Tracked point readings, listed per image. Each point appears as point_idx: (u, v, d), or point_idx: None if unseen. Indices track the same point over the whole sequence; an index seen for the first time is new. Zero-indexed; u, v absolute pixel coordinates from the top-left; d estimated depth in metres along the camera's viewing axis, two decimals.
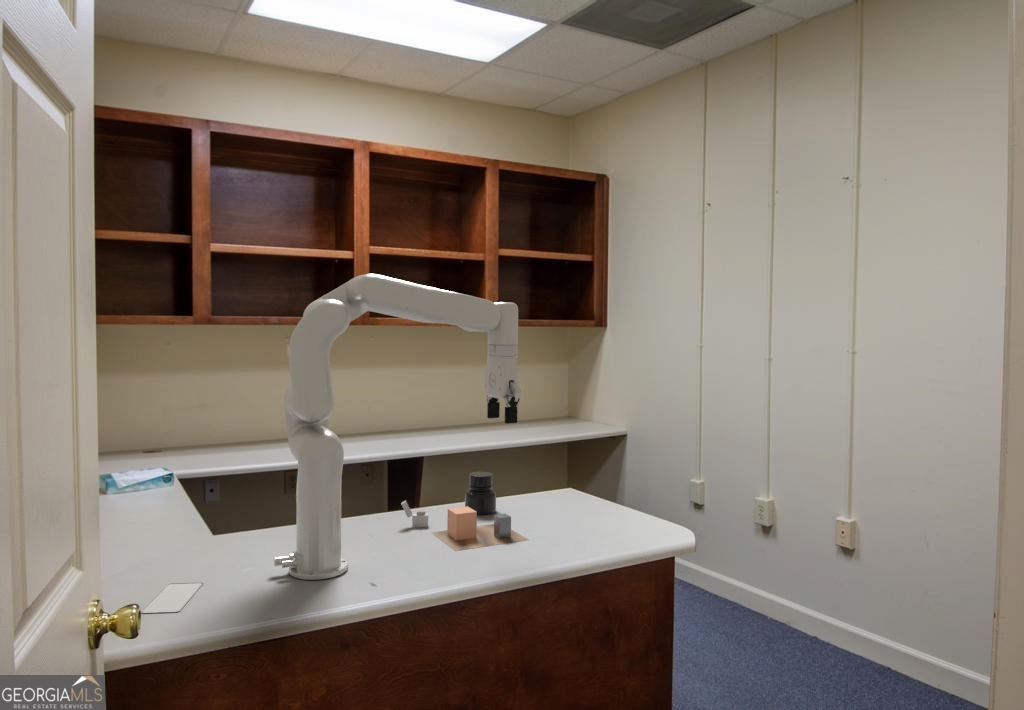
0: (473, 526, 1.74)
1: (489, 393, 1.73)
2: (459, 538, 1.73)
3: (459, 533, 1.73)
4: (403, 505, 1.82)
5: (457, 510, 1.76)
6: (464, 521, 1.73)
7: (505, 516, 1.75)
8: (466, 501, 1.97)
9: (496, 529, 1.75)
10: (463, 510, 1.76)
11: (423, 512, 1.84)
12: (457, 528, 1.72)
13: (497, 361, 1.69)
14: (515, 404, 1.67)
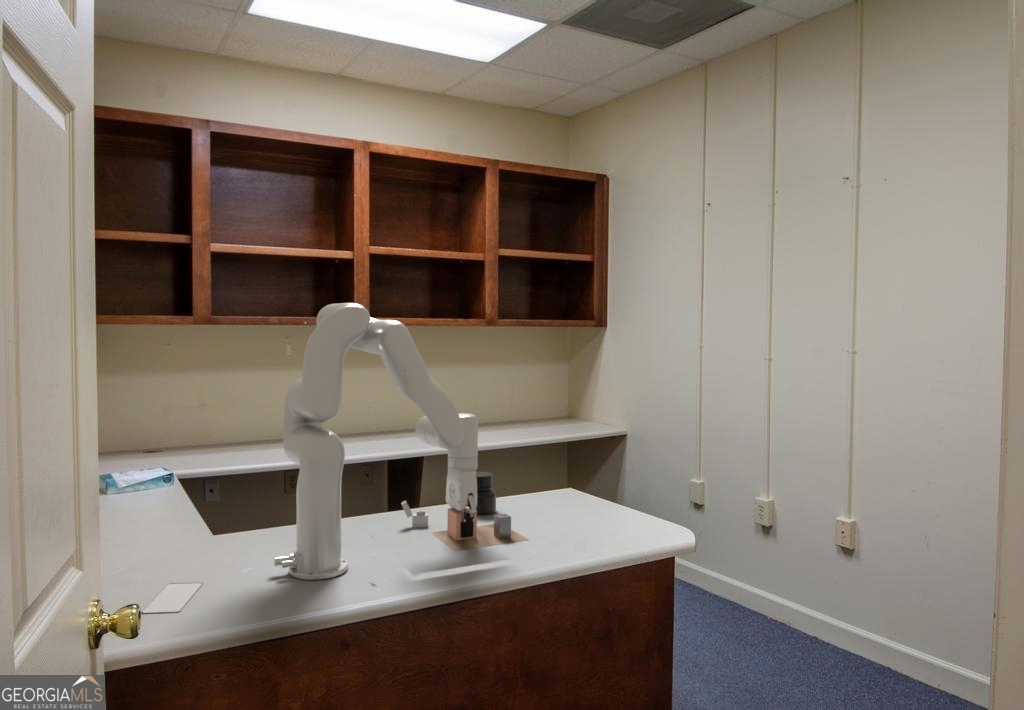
0: (473, 526, 1.74)
1: (449, 503, 1.76)
2: (459, 538, 1.73)
3: (459, 533, 1.73)
4: (403, 505, 1.82)
5: (457, 510, 1.76)
6: None
7: (505, 516, 1.75)
8: None
9: (496, 529, 1.75)
10: None
11: (423, 512, 1.84)
12: (457, 528, 1.72)
13: (456, 473, 1.72)
14: (471, 519, 1.72)
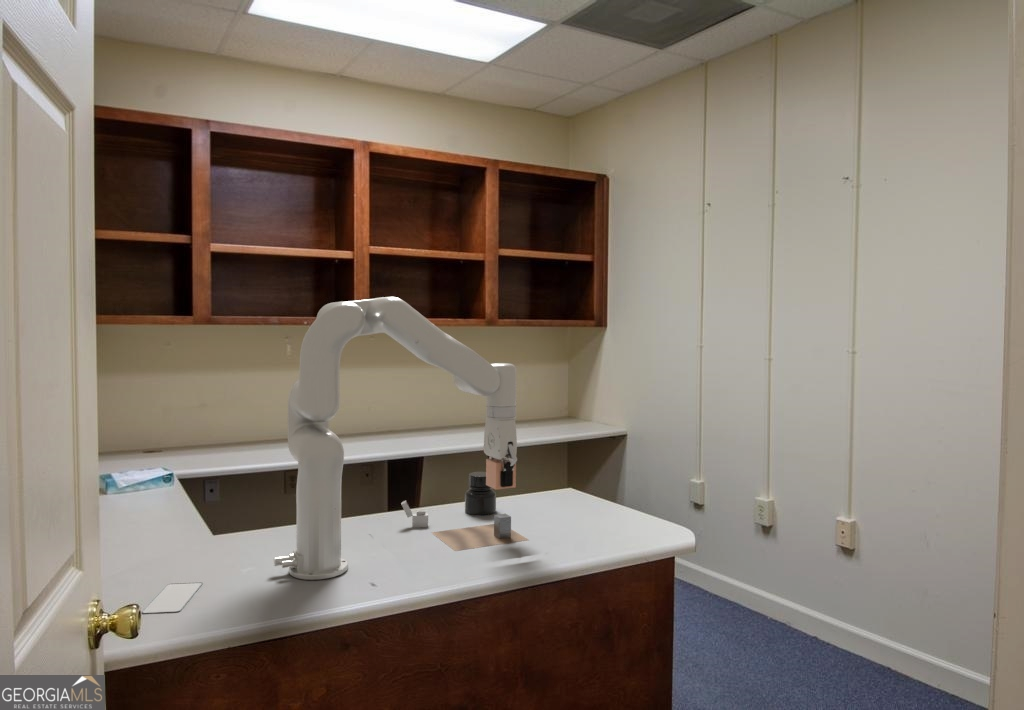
0: None
1: (488, 453, 1.75)
2: (499, 487, 1.72)
3: (499, 482, 1.72)
4: (403, 505, 1.82)
5: (496, 460, 1.75)
6: None
7: (505, 516, 1.75)
8: (466, 501, 1.97)
9: (496, 529, 1.75)
10: None
11: (423, 512, 1.84)
12: (497, 477, 1.72)
13: (495, 422, 1.71)
14: (510, 468, 1.71)
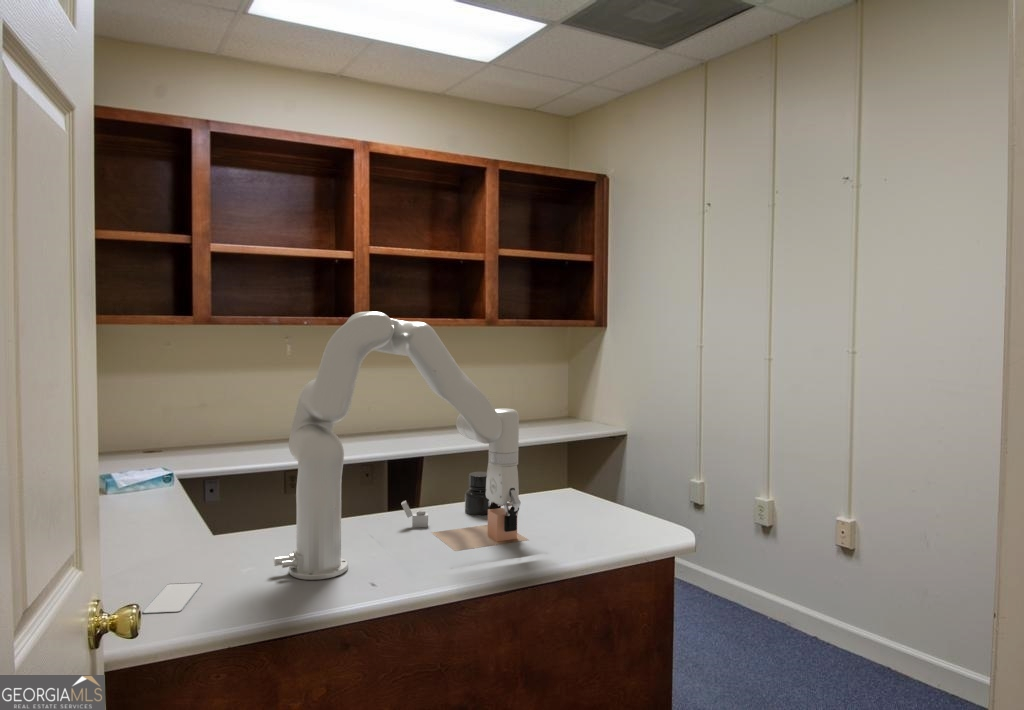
0: None
1: (490, 498, 1.76)
2: (500, 539, 1.73)
3: (500, 534, 1.72)
4: (403, 505, 1.82)
5: (497, 511, 1.75)
6: None
7: None
8: (466, 501, 1.97)
9: None
10: (504, 511, 1.75)
11: (423, 512, 1.84)
12: (498, 529, 1.72)
13: (497, 468, 1.72)
14: (515, 513, 1.70)
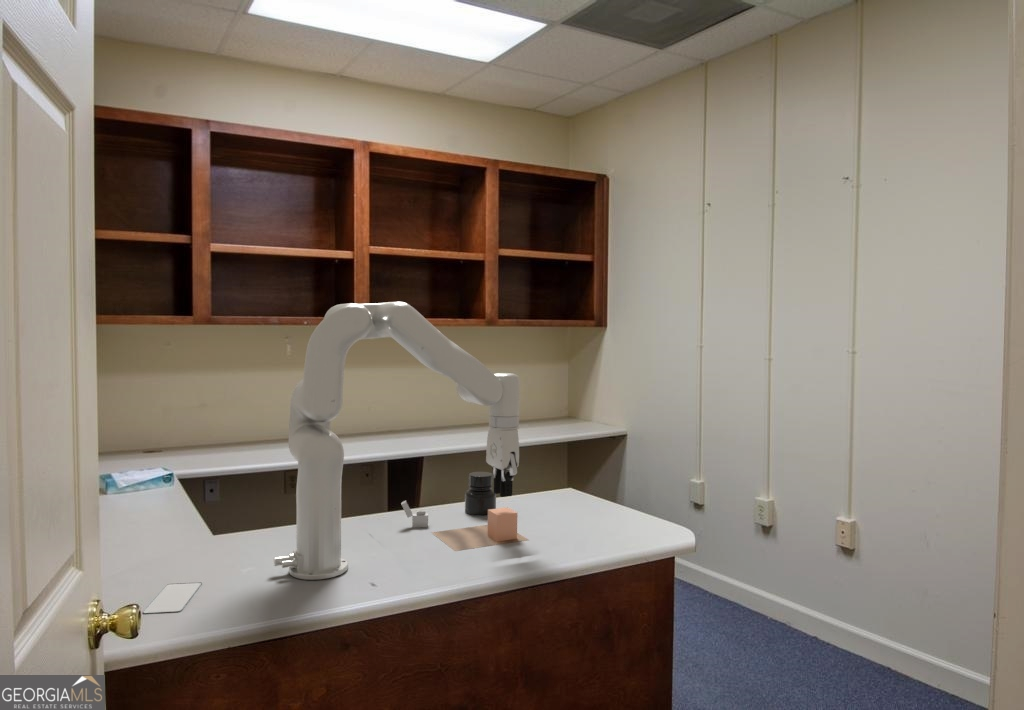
0: (514, 527, 1.74)
1: (490, 463, 1.75)
2: (500, 539, 1.73)
3: (500, 534, 1.72)
4: (403, 505, 1.82)
5: (497, 511, 1.75)
6: (505, 522, 1.73)
7: None
8: (466, 501, 1.97)
9: None
10: (504, 511, 1.75)
11: (423, 512, 1.84)
12: (498, 529, 1.72)
13: (498, 432, 1.71)
14: (510, 478, 1.72)
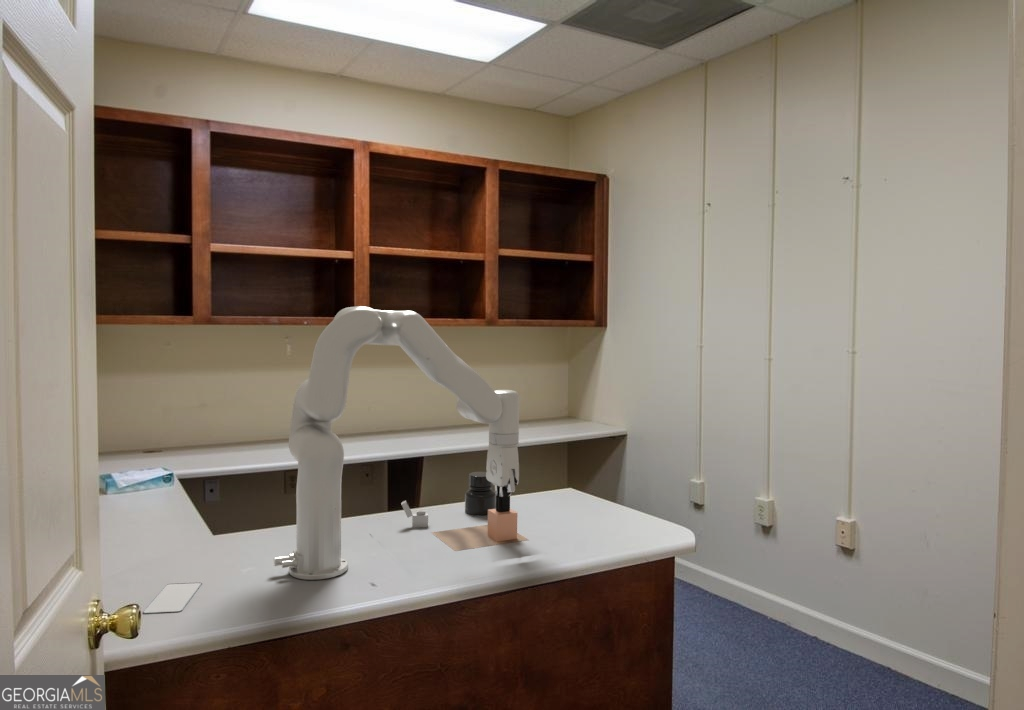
0: (514, 527, 1.74)
1: (490, 479, 1.75)
2: (500, 539, 1.73)
3: (500, 534, 1.72)
4: (403, 505, 1.82)
5: (497, 511, 1.75)
6: (505, 522, 1.73)
7: None
8: (466, 501, 1.97)
9: None
10: None
11: (423, 512, 1.84)
12: (498, 529, 1.72)
13: (498, 449, 1.72)
14: (508, 494, 1.74)
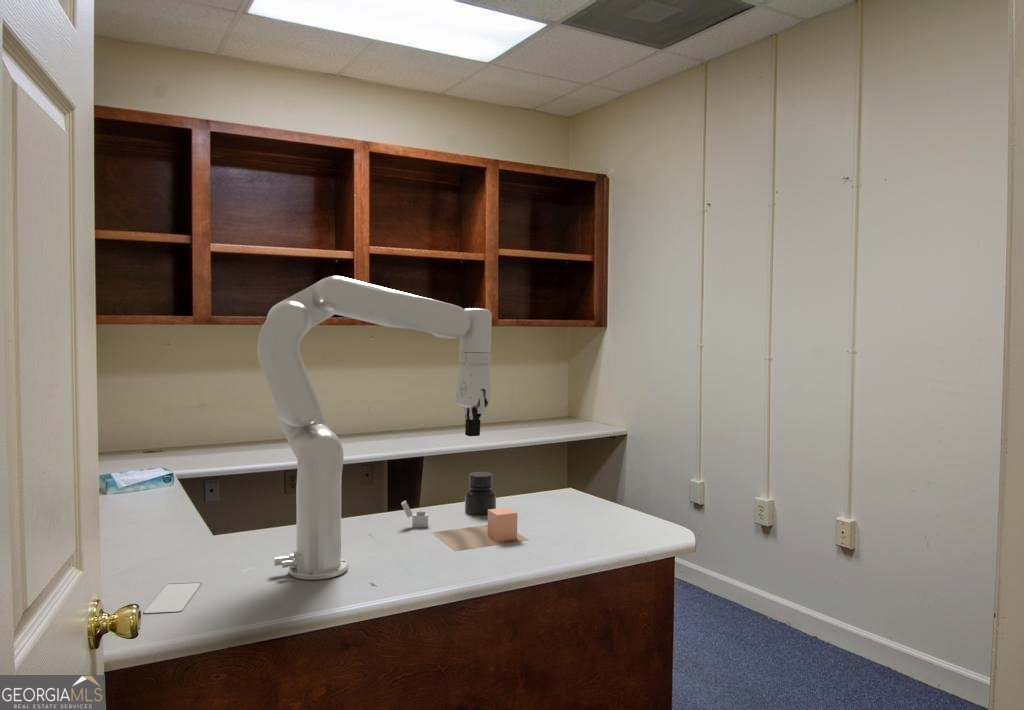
0: (514, 527, 1.74)
1: (460, 402, 1.67)
2: (500, 539, 1.73)
3: (500, 534, 1.72)
4: (403, 505, 1.82)
5: (497, 511, 1.75)
6: (505, 522, 1.73)
7: None
8: (466, 501, 1.97)
9: None
10: (504, 511, 1.75)
11: (423, 512, 1.84)
12: (498, 529, 1.72)
13: (468, 369, 1.64)
14: (478, 417, 1.66)
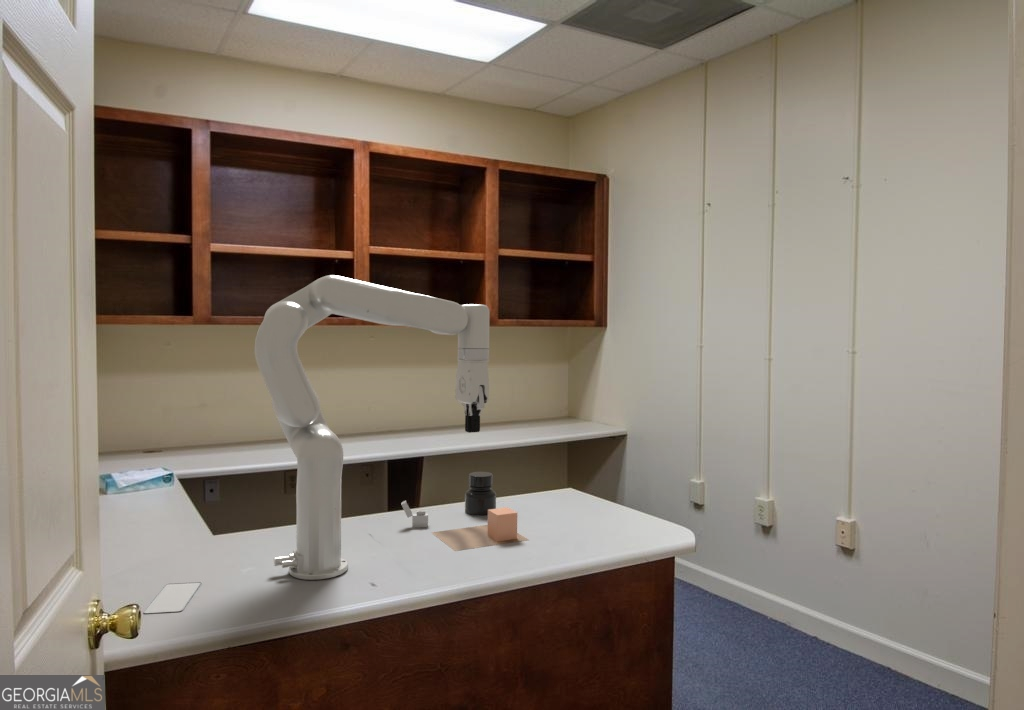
0: (514, 527, 1.74)
1: (459, 398, 1.67)
2: (500, 539, 1.73)
3: (500, 534, 1.72)
4: (403, 505, 1.82)
5: (497, 511, 1.75)
6: (505, 522, 1.73)
7: None
8: (466, 501, 1.97)
9: None
10: (504, 511, 1.75)
11: (423, 512, 1.84)
12: (498, 529, 1.72)
13: (467, 365, 1.63)
14: (477, 413, 1.65)
